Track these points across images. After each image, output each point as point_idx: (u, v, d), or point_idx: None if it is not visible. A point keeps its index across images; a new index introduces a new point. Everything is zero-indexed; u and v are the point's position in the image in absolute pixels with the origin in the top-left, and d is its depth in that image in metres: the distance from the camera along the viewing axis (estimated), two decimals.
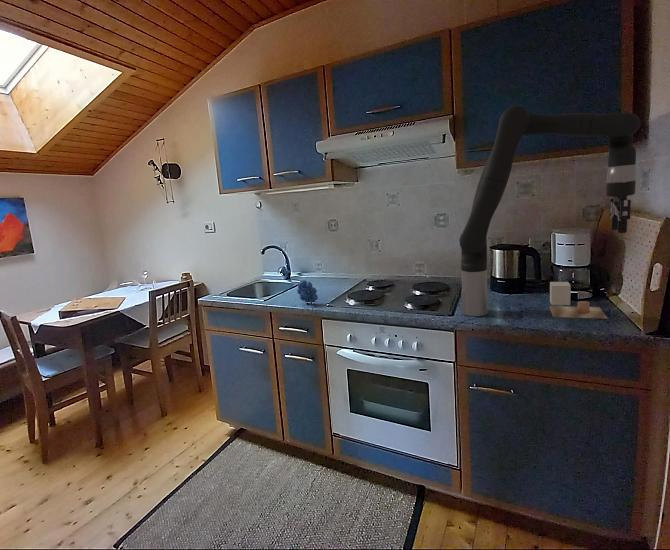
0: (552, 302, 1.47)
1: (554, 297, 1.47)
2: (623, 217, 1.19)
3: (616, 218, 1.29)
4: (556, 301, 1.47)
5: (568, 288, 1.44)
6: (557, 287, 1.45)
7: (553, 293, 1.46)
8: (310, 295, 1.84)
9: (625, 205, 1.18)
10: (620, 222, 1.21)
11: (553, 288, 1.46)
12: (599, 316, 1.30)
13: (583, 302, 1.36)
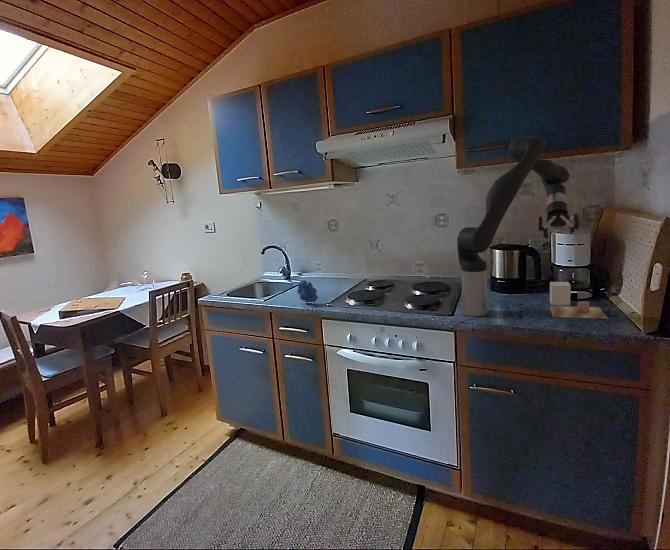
0: (552, 302, 1.47)
1: (554, 297, 1.47)
2: (578, 225, 1.53)
3: None
4: (556, 301, 1.47)
5: (568, 288, 1.44)
6: (557, 287, 1.45)
7: (553, 293, 1.46)
8: (310, 295, 1.84)
9: None
10: (573, 228, 1.53)
11: (553, 288, 1.46)
12: (599, 316, 1.30)
13: (583, 302, 1.36)
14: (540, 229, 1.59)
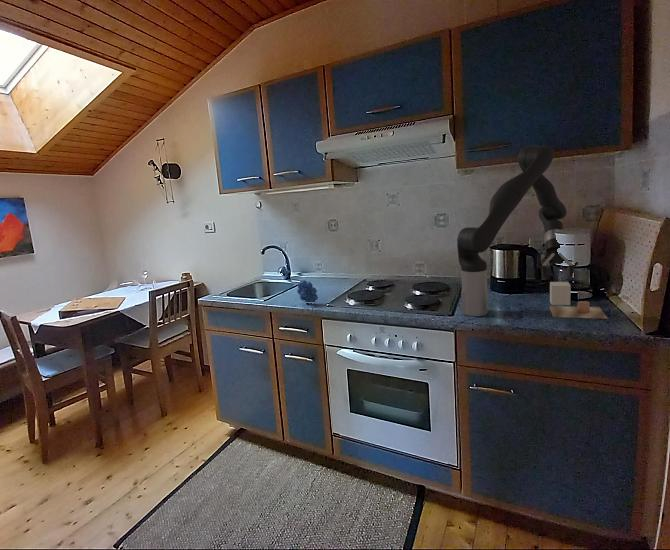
0: (552, 302, 1.47)
1: (554, 297, 1.47)
2: None
3: None
4: (556, 301, 1.47)
5: (568, 288, 1.44)
6: (557, 287, 1.45)
7: (553, 293, 1.46)
8: (310, 295, 1.84)
9: None
10: (571, 267, 1.52)
11: (553, 288, 1.46)
12: (599, 316, 1.30)
13: (583, 302, 1.36)
14: (539, 266, 1.57)
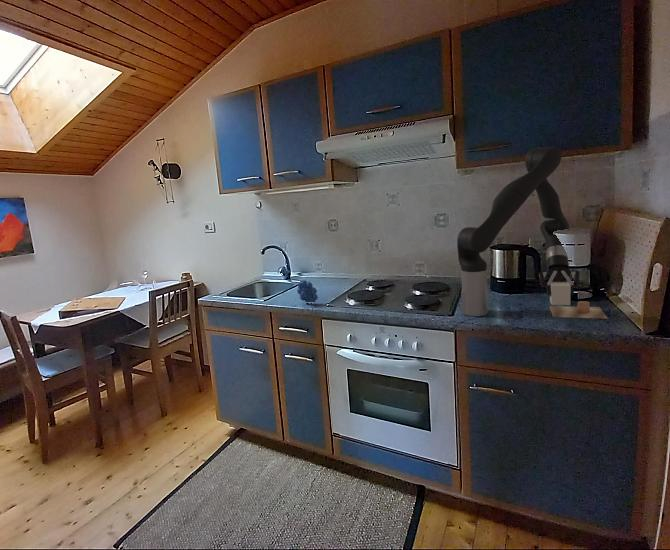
0: (552, 302, 1.47)
1: (554, 297, 1.47)
2: (578, 283, 1.46)
3: None
4: (556, 301, 1.47)
5: (568, 288, 1.44)
6: (557, 287, 1.45)
7: (553, 293, 1.46)
8: (310, 295, 1.84)
9: (578, 276, 1.48)
10: (572, 286, 1.46)
11: (553, 288, 1.46)
12: (599, 316, 1.30)
13: (583, 302, 1.36)
14: (543, 285, 1.51)
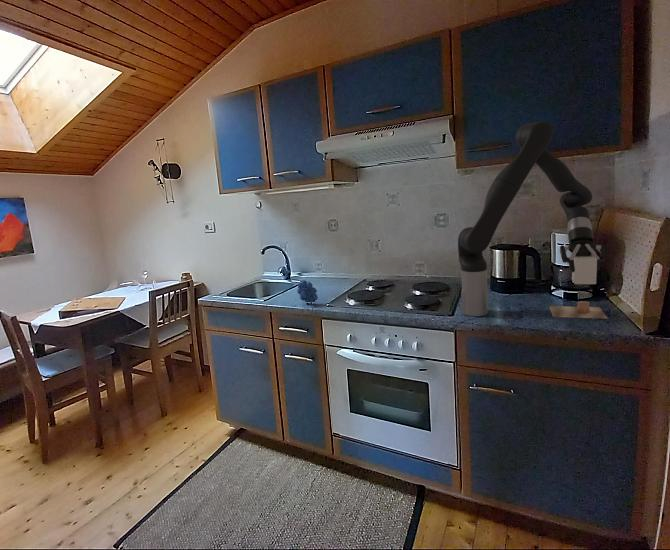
0: (576, 278, 1.32)
1: (578, 273, 1.32)
2: (604, 257, 1.32)
3: None
4: (580, 277, 1.32)
5: (594, 262, 1.29)
6: (581, 261, 1.31)
7: (577, 268, 1.32)
8: (310, 295, 1.84)
9: None
10: (598, 261, 1.32)
11: (577, 263, 1.31)
12: (599, 316, 1.30)
13: (583, 302, 1.36)
14: (565, 260, 1.36)
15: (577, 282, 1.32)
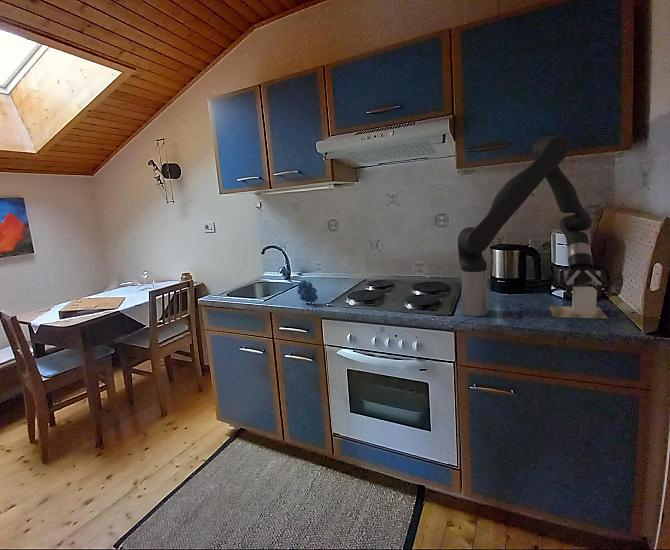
0: (576, 309, 1.34)
1: (578, 303, 1.34)
2: (606, 282, 1.33)
3: None
4: (580, 308, 1.34)
5: (594, 294, 1.31)
6: (581, 292, 1.32)
7: (577, 299, 1.33)
8: (310, 295, 1.84)
9: None
10: (600, 286, 1.33)
11: (577, 293, 1.33)
12: (599, 316, 1.30)
13: None
14: (562, 285, 1.39)
15: (577, 312, 1.34)
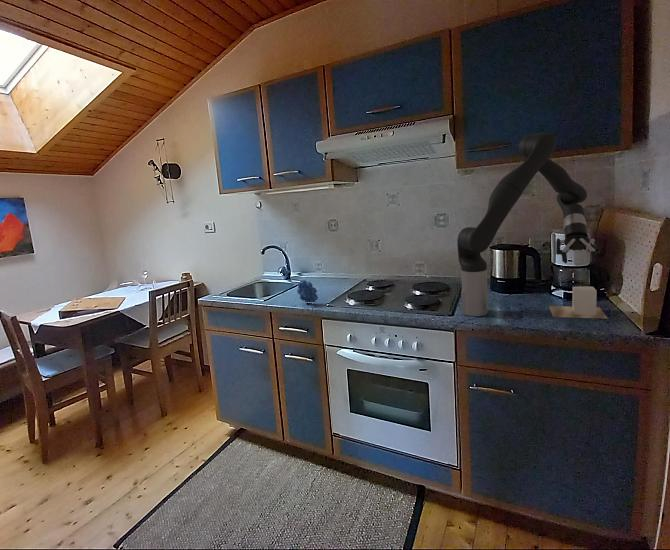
0: (576, 309, 1.34)
1: (578, 303, 1.34)
2: (600, 249, 1.42)
3: None
4: (580, 308, 1.34)
5: (594, 294, 1.31)
6: (581, 292, 1.32)
7: (577, 299, 1.33)
8: (310, 295, 1.84)
9: None
10: (594, 253, 1.42)
11: (577, 293, 1.33)
12: (599, 316, 1.30)
13: None
14: (558, 252, 1.48)
15: (577, 312, 1.34)
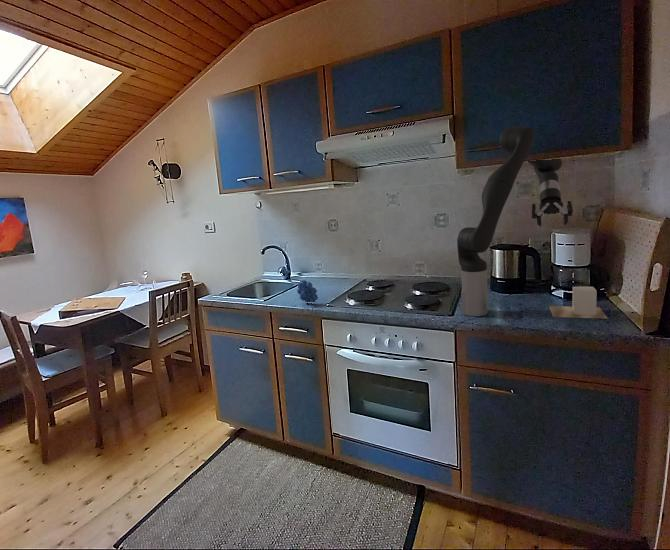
0: (576, 309, 1.34)
1: (578, 303, 1.34)
2: None
3: None
4: (580, 308, 1.34)
5: (594, 294, 1.31)
6: (581, 292, 1.32)
7: (577, 299, 1.33)
8: (310, 295, 1.84)
9: None
10: (566, 215, 1.50)
11: (577, 293, 1.33)
12: (599, 316, 1.30)
13: None
14: (533, 216, 1.56)
15: (577, 312, 1.34)
